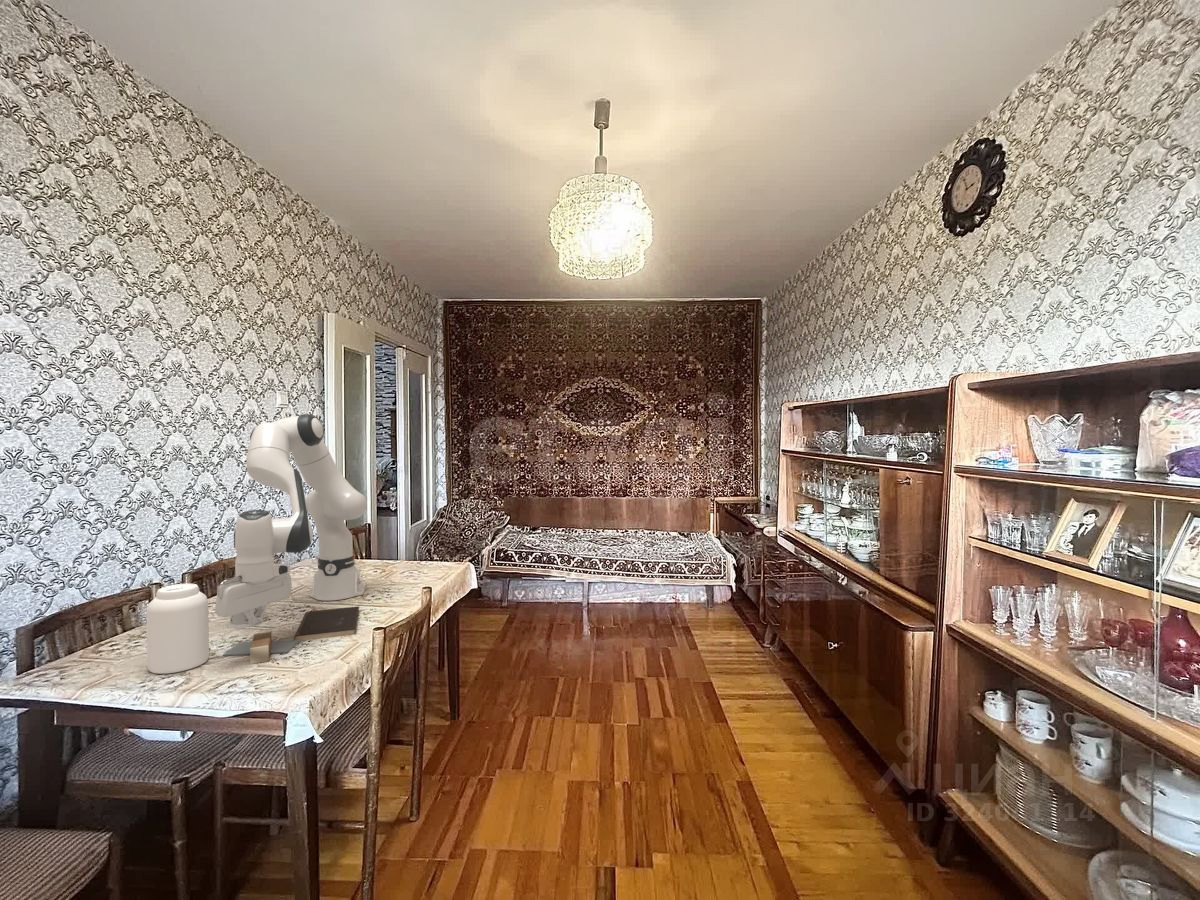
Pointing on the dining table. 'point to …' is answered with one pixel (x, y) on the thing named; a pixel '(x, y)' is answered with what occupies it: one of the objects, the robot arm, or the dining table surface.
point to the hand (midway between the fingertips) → (255, 623)
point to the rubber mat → (277, 648)
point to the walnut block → (261, 647)
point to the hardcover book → (327, 623)
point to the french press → (240, 620)
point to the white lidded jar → (177, 629)
